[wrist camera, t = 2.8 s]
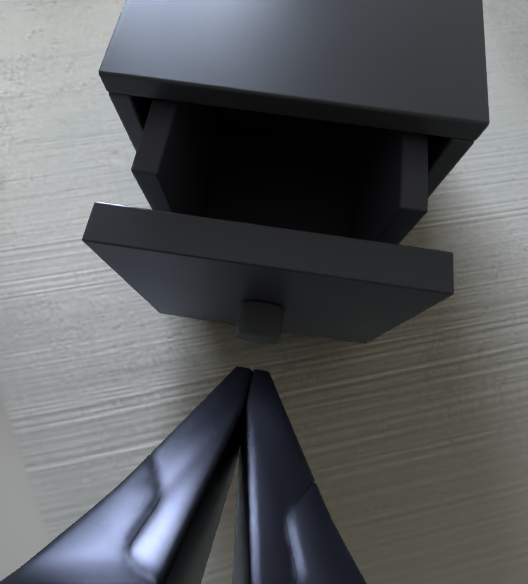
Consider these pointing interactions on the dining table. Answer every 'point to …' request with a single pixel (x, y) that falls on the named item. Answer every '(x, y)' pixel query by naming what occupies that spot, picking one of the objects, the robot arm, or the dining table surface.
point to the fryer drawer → (275, 224)
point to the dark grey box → (310, 64)
